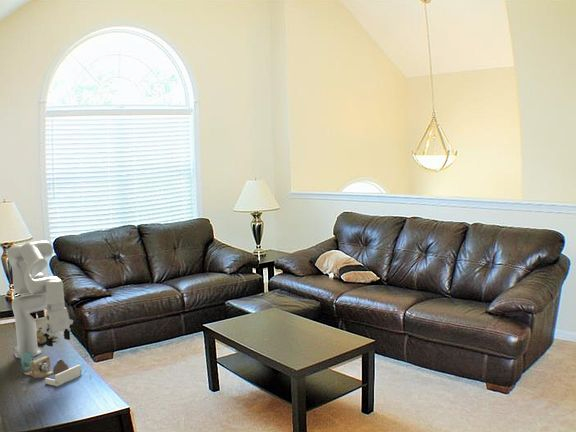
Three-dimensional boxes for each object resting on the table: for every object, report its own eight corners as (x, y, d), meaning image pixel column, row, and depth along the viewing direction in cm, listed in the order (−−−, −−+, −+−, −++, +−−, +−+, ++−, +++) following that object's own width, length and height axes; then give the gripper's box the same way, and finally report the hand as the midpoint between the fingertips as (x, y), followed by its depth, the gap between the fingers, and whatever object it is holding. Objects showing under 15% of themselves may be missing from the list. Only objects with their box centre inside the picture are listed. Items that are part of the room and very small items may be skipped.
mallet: (21, 370, 274) (20, 354, 274) (30, 366, 279) (29, 351, 278) (41, 374, 268) (40, 358, 267) (50, 370, 272) (49, 355, 271)
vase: (64, 382, 261) (62, 363, 260) (50, 381, 263) (49, 363, 262) (72, 376, 268) (71, 358, 267) (59, 375, 270) (58, 357, 269)
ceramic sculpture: (40, 322, 328) (58, 327, 321) (41, 337, 329) (59, 342, 322) (24, 328, 319) (41, 333, 312) (25, 342, 320) (42, 348, 313)
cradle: (45, 383, 260) (44, 373, 260) (70, 372, 273) (69, 362, 272) (57, 386, 257) (56, 375, 256) (81, 375, 269) (80, 364, 269)
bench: (22, 374, 272) (20, 359, 272) (36, 368, 279) (35, 354, 279) (40, 378, 266) (39, 363, 265) (55, 372, 273) (53, 357, 272)
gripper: (45, 312, 252) (48, 349, 254) (76, 302, 267) (79, 337, 269) (34, 310, 256) (37, 347, 258) (65, 300, 271) (68, 335, 273)
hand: (58, 342), depth 264 cm, fingers open, 9 cm apart
